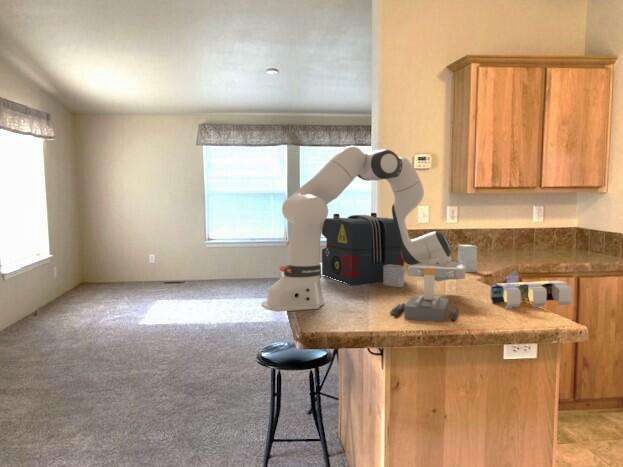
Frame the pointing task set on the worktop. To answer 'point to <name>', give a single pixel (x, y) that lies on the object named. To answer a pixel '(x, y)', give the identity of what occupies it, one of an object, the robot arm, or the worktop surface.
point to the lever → (429, 283)
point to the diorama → (530, 292)
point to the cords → (397, 310)
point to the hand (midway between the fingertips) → (433, 274)
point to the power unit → (359, 248)
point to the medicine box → (393, 275)
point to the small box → (468, 257)
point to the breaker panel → (427, 308)
